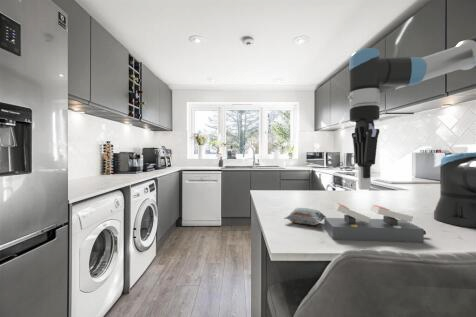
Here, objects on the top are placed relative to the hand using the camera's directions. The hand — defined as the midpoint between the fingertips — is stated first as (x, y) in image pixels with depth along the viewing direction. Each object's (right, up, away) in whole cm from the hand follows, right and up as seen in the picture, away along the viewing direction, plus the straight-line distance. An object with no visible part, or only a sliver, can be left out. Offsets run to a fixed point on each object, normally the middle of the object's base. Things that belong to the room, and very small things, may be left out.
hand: (364, 189), depth 68 cm
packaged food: (-14, -14, +12) cm, 23 cm away
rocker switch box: (+3, -13, 0) cm, 14 cm away
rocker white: (+7, -8, -1) cm, 10 cm away
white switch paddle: (-4, -8, +1) cm, 9 cm away
